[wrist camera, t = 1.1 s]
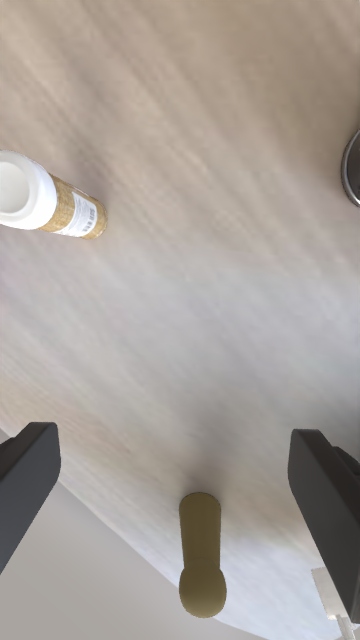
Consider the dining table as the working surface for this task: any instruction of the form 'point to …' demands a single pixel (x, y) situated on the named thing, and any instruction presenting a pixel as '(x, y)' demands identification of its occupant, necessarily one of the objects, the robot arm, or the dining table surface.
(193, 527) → the olive game pawn
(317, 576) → the spiral staircase
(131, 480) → the dining table surface
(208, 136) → the dining table surface
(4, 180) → the sprinkles bottle
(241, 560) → the dining table surface
